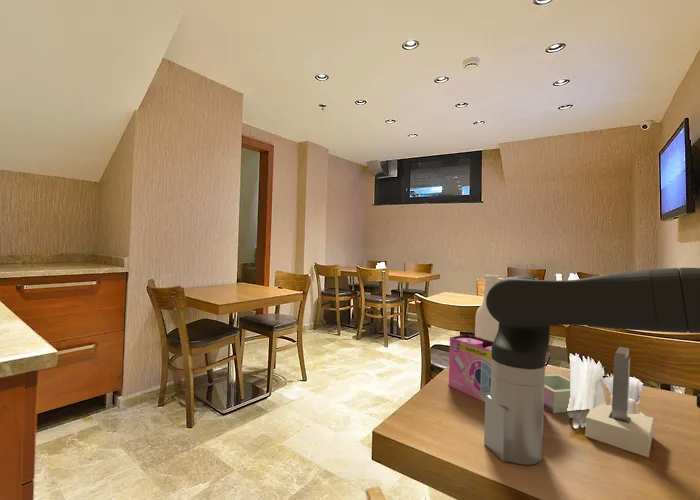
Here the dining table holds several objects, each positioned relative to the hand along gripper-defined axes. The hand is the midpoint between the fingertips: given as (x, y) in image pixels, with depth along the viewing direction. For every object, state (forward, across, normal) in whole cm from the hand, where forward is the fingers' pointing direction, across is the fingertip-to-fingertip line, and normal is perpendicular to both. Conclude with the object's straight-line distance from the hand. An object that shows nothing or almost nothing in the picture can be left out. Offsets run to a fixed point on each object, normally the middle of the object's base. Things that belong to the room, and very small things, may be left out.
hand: (699, 394), depth 64 cm
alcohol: (+47, -13, +12) cm, 50 cm away
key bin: (+26, -7, +12) cm, 30 cm away
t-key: (+12, 0, +13) cm, 17 cm away
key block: (+12, 0, +13) cm, 17 cm away
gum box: (+37, +4, +13) cm, 39 cm away
